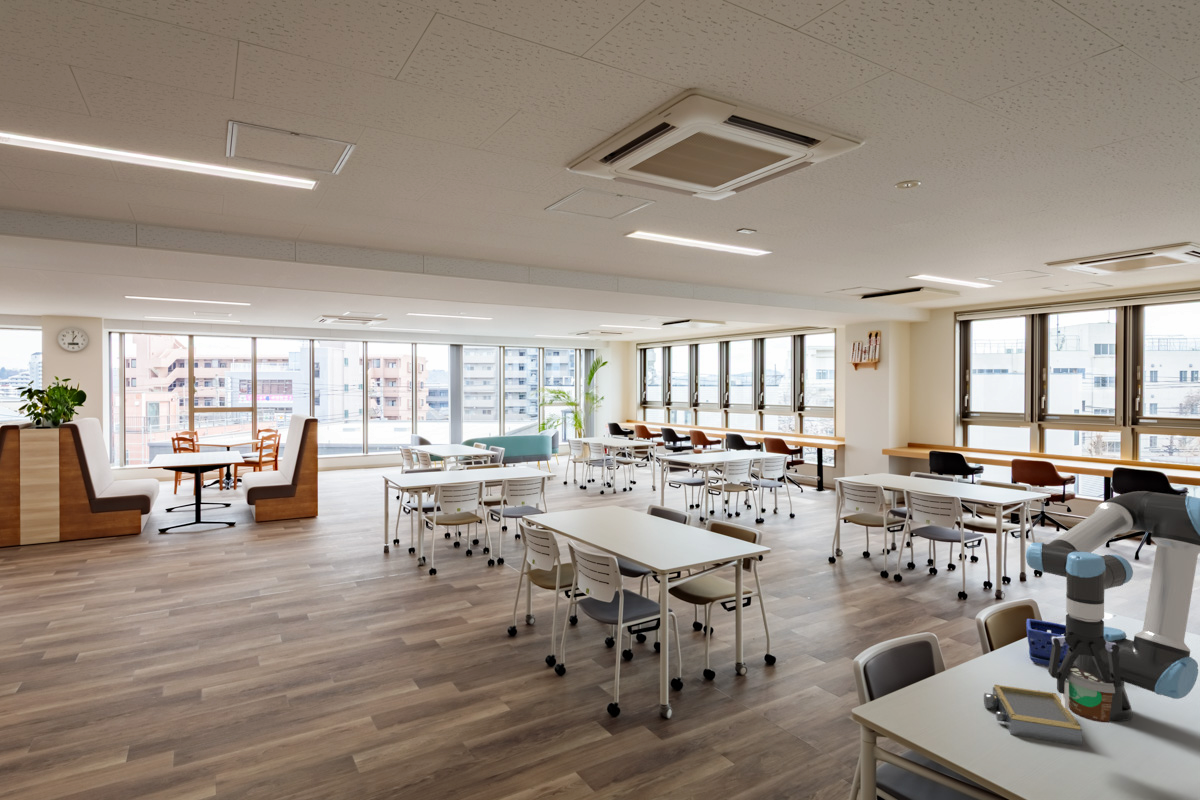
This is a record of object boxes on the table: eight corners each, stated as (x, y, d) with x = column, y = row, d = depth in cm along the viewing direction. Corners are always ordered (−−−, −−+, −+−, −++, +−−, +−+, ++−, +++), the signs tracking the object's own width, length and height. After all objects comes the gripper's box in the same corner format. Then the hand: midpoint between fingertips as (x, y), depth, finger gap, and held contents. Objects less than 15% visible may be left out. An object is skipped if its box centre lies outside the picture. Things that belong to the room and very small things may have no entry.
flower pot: (1071, 659, 222) (1072, 625, 222) (1074, 673, 211) (1075, 637, 211) (1025, 651, 230) (1026, 617, 229) (1026, 664, 218) (1027, 629, 218)
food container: (1050, 700, 166) (1051, 662, 166) (1073, 700, 167) (1074, 661, 166) (1089, 726, 154) (1090, 685, 154) (1114, 725, 154) (1115, 684, 154)
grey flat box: (1056, 710, 187) (1056, 692, 186) (1081, 746, 168) (1082, 726, 168) (980, 698, 193) (981, 682, 193) (997, 732, 174) (998, 713, 174)
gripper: (1127, 615, 160) (1125, 707, 160) (1032, 607, 166) (1031, 695, 167) (1141, 626, 153) (1139, 722, 153) (1042, 617, 159) (1040, 709, 160)
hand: (1083, 708), depth 160 cm, fingers closed on food container, 7 cm apart
